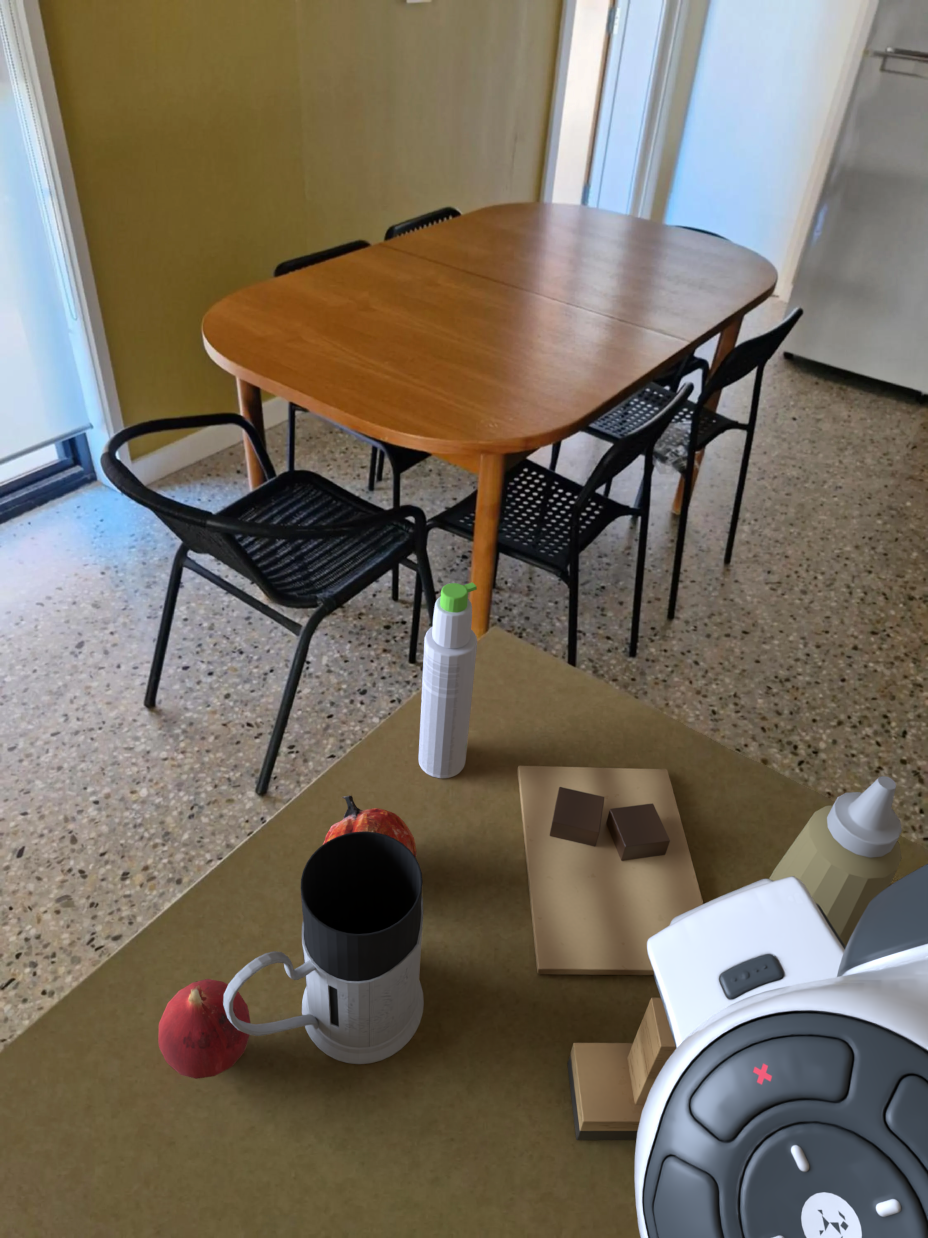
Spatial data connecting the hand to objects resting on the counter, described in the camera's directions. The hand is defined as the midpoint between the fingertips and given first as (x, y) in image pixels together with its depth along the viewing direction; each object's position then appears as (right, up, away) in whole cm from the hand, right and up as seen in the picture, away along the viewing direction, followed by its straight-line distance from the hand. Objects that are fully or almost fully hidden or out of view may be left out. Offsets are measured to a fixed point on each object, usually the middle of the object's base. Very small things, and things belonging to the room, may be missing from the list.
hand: (844, 1137), depth 40 cm
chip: (-8, +6, +37) cm, 38 cm away
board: (-5, +3, +35) cm, 35 cm away
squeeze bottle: (+10, -2, +31) cm, 33 cm away
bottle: (-19, +10, +43) cm, 48 cm away
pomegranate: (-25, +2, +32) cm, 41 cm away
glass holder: (-27, -6, +23) cm, 35 cm away
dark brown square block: (-2, +4, +36) cm, 36 cm away
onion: (-34, -7, +21) cm, 41 cm away
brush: (-4, -9, +20) cm, 23 cm away
